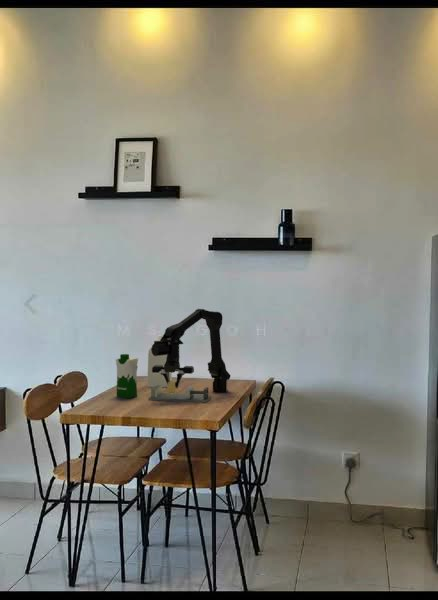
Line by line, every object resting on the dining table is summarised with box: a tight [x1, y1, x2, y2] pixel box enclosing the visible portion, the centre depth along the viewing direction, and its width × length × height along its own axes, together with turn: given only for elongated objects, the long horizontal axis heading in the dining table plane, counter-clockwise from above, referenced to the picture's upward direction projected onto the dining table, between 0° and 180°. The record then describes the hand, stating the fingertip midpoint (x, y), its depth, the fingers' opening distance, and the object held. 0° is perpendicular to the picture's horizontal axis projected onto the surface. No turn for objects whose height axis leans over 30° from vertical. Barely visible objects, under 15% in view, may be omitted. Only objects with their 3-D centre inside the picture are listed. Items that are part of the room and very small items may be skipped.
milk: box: [146, 334, 173, 388], centre depth 321 cm, size 12×12×26 cm
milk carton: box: [115, 353, 139, 399], centre depth 288 cm, size 9×9×20 cm
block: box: [167, 379, 179, 394], centre depth 285 cm, size 4×7×5 cm, turn 171°
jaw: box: [184, 385, 209, 399], centre depth 283 cm, size 9×10×4 cm
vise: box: [147, 385, 212, 403], centre depth 285 cm, size 27×12×5 cm, turn 81°
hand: (173, 387), depth 285 cm, fingers closed on block, 3 cm apart
